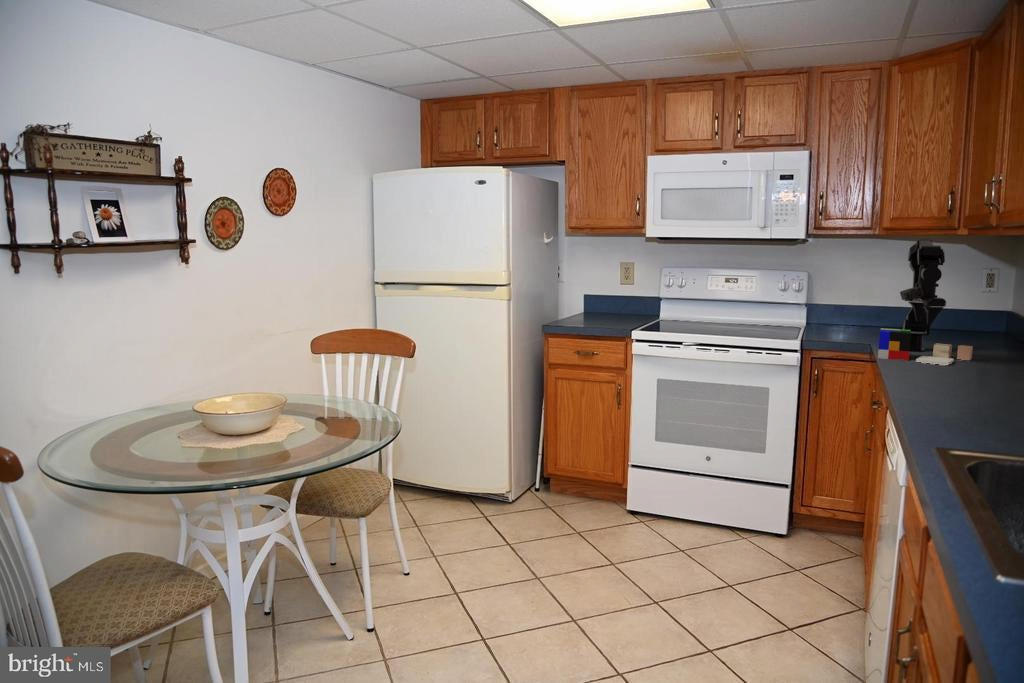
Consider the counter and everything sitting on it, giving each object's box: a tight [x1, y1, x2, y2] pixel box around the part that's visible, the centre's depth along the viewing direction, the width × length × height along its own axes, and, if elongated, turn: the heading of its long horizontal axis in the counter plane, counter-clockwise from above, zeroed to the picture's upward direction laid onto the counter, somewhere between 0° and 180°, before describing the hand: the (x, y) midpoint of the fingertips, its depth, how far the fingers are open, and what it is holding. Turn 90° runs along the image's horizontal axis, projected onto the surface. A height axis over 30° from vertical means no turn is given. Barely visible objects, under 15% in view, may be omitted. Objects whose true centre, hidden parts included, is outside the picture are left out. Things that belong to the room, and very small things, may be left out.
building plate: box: [915, 355, 955, 366], centre depth 259 cm, size 10×10×1 cm
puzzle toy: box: [877, 328, 912, 361], centre depth 269 cm, size 10×10×10 cm
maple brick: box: [932, 342, 953, 358], centre depth 267 cm, size 5×5×5 cm
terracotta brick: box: [956, 344, 974, 361], centre depth 264 cm, size 4×4×5 cm
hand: (923, 323), depth 264 cm, fingers open, 9 cm apart
